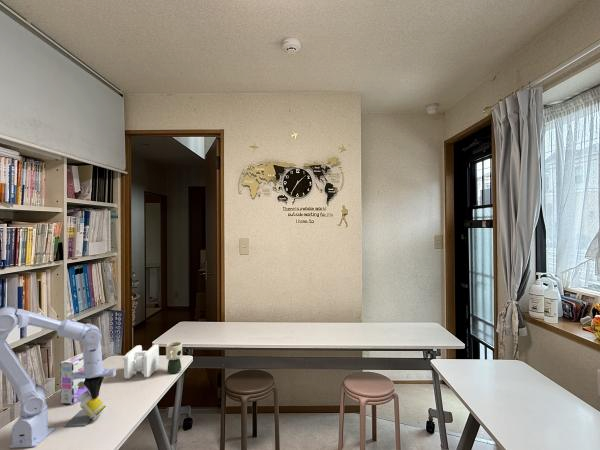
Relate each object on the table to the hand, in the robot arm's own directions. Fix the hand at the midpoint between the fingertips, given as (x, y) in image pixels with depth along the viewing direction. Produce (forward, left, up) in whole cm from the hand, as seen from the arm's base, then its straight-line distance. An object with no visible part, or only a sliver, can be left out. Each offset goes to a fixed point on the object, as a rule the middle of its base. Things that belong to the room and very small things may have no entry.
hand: (95, 397), depth 124 cm
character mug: (+37, -17, -8) cm, 42 cm away
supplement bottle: (0, -2, -6) cm, 7 cm away
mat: (+1, +5, -8) cm, 9 cm away
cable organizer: (+37, -2, -8) cm, 37 cm away
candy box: (+18, +15, -8) cm, 24 cm away
